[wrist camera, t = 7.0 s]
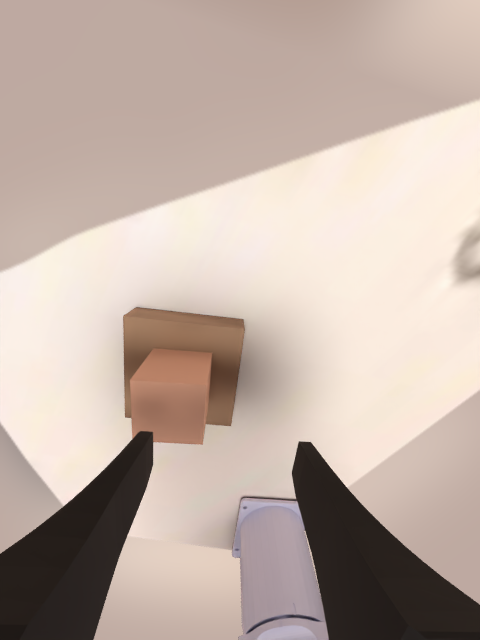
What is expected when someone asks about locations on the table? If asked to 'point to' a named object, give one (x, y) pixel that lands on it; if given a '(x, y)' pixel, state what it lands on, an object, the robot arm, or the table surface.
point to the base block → (187, 335)
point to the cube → (172, 395)
